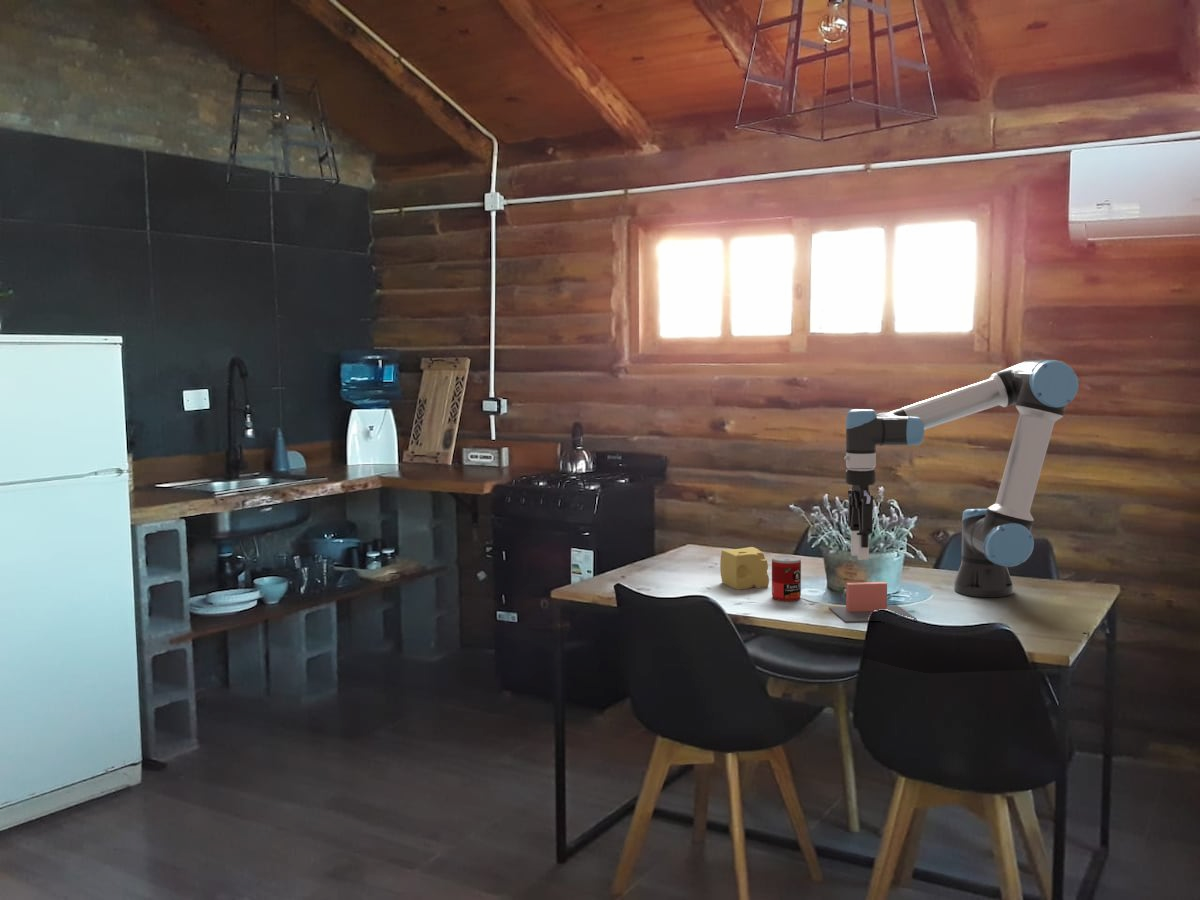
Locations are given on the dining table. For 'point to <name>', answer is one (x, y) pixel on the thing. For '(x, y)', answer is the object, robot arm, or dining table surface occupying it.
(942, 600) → the dining table surface
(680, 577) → the dining table surface
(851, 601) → the block
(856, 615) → the mat
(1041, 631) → the dining table surface
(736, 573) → the cheese
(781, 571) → the canned food
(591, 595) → the dining table surface
